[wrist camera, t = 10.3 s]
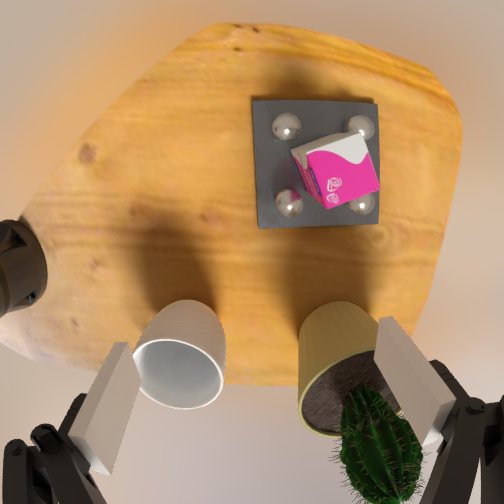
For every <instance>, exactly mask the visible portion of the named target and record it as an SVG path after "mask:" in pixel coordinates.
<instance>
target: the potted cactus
mask: <svg viewBox="0 0 504 504" xmlns="http://www.w3.org/2000/svg"><path fill="white" fill-rule="evenodd" d="M378 327H379V324H378V323H377V322H376V321H375V320H374V319H373V318H372V317H371V316H370V315H369V314H367V313H366V312H365V311H364V310H363V309H362V308H361V307H359V306H357V305H356V304H354V303H351V302H347V301H334V302H330V303H326V304H324V305H322V306H320V307H318V308H316V309H315V310H314V311H312V312H311V313H310V314H309V315H308V316H307V317H306V319H305V320H304V322H303V324H302V326H301V328H300V332H299V375H298V412H299V416H300V419H301V421H302V423H303V424H304V426H305V427H307V428H308V429H309V430H310V431H312V432H314V433H315V434H318V435H321V436H324V437H330V438H340V439H341V438H342V439H343V441H342V444H341V445H342V450H341V451H340V454H339V455H340V456H339V457H340V459H341V461H342V463H343V464H345V465H346V473H347V474H348V476H349V479H350V481H351V485H352V486H353V487H354V488H355V490H357V491H359V493H360V494H361V495H362V496H363V498H365V499H366V500H367V502H369V503H372V504H400V501H402V502H403V500H404V501H407V500H409V499H410V497H411V496H412V495H413V493H414V490H416V489H415V488H418V487H422V486H420V485H419V486H416V485H418V484H416V483H417V482H416V481H417V480H418V479H419V475H420V470H421V462H422V459H423V454H422V453H421V451H422V446H421V444H420V442H419V440H418V439H417V437H416V435H415V433H414V431H413V429H412V427H411V425H410V423H409V422H408V421H407V420H405V419H406V418H405V419H403V418H404V417H403V418H400V417H402V416H400V415H401V414H402V413H401V412H402V409H401V407H400V405H399V403H398V401H397V400H396V398H395V396H394V394H393V392H392V391H391V389H390V387H389V385H388V384H387V382H386V380H385V378H384V376H383V375H382V373H381V371H380V369H379V368H378V366H377V364H376V363H375V361H374V354H375V348H376V341H377V334H378ZM400 413H401V414H400ZM398 415H399V416H400V417H399V416H398ZM405 417H406V416H405ZM342 439H341V440H342ZM340 447H341V446H340ZM337 448H338V447H337ZM335 452H337V451H335ZM338 452H339V451H338ZM427 455H428V454H427ZM337 456H338V455H337ZM339 457H338V458H339ZM336 459H337V458H336ZM343 468H345V467H343ZM347 480H348V479H347ZM345 481H346V480H345ZM422 481H423V480H422ZM415 482H416V483H415ZM352 490H353V489H352ZM353 492H354V491H353ZM417 493H419V492H417ZM361 495H360V496H361ZM365 499H362V500H365ZM359 501H360V500H359ZM359 501H358V502H359ZM365 504H366V501H365ZM367 504H368V503H367Z"/></svg>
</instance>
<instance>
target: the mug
mask: <svg viewBox="0 0 504 504" xmlns="http://www.w3.org/2000/svg"><path fill="white" fill-rule="evenodd" d="M226 348H227V347H226V339H225V333H224V329H223V327H222V324H221V322H220V320H219V318H218V316H217V315H216V314H215V313H214V311H213V310H212V309H210V308H209V307H208V306H207V305H205V304H203V303H201V302H198V301H195V300H187V299H186V300H179V301H175V302H173V303H170V304H169V305H167V306H166V307H165V308H163V309H162V310H161V311H160V312H158V313H157V315H155V316H154V318H153V319H152V320H151V321H150V323H149V324H148V325H147V327H146V329H145V330H144V331H143V334H142V335H141V337H140V340H139V341H138V343H137V345H136V347H135V349H134V351H133V353H132V355H133V358H134V361H135V364H136V367H137V369H138V372H139V375H140V377H141V380H142V382H141V385H140V388H139V389H140V390H141V391H142V392H143V393H144V394H145V395H146V396H147V397H149V398H150V399H152V400H153V401H155V402H157V403H159V404H162V405H164V406H167V407H171V408H176V409H194V408H199V407H202V406H205V405H207V404H209V403H210V402H212V401H213V400H214V399H215V398H216V397H217V396H218V395H219V393H220V392H221V390H222V387H223V383H224V375H225V368H226Z"/></svg>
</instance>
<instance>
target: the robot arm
mask: <svg viewBox="0 0 504 504" xmlns="http://www.w3.org/2000/svg"><path fill="white" fill-rule="evenodd" d="M46 285H47V266H46V261H45V257H44V254H43V252H42V249H41V247H40V245H39V243H38V241H37V240H36V238H35V237H34V235H33V234H32V233H31V231H30V230H29V229H28V228H27V227H25V226H24V225H23V224H21V223H20V222H18V221H15V220H4V221H1V222H0V318H1V317H2V316H3V315H5V314H6V313H9V312H13V311H17V310H20V309H24V308H28V307H30V306H31V305H33V304H34V303H35V302H36V301H38V300H39V299H40V298H41V297H42V295H43V294H44V291H45V289H46ZM374 361H375V363H376V364H377V366H378V368H379V369H380V371H381V373H382V375H383V376H384V378H385V380H386V382H387V384H388V385H389V387H390V389H391V391H392V392H393V394H394V396H395V398H396V400H397V401H398V403H399V405H400V407H401V409H402V411H403V412H404V414H405V416H406V418H407V420H408V422H409V423H410V425H411V427H412V429H413V431H414V433H415V435H416V437H417V439H418V440H419V442H420V444H421V446H424V445H427V444H429V443H432V442H434V441H436V440H437V438H438V436H439V434H440V433H441V434H442V436H443V438H444V439H443V441H442V443H441V445H440V447H439V448H438V450H437V452H439V453H438V456H437V459H436V462H435V465H434V467H433V470H432V473H431V476H430V479H429V481H428V484H427V486H426V489H425V491H424V494H423V496H422V499H421V501H420V503H419V504H468V502H469V499H470V496H471V492H472V488H473V485H474V481H475V477H476V473H477V468H478V463H479V459H480V464H481V504H504V395H503V396H502V398H501V400H500V402H495V403H487V404H485V403H484V402H483V401H482V400H481V399H478V398H475V397H469V395H468V394H467V393H466V392H465V390H464V389H463V388H462V386H461V385H460V384H459V382H458V381H457V380H456V379H455V378H454V376H453V375H452V374H451V373H450V371H449V370H448V369H447V367H446V366H445V365H444V364H443V363H441V362H439V361H438V360H432V361H428V360H427V359H426V358H425V356H424V355H423V354H422V353H421V351H420V350H419V349H418V347H417V346H416V345H415V344H414V342H413V341H412V340H411V339H410V337H409V336H408V335H407V334H406V332H405V331H404V330H403V329H402V327H401V326H400V325H399V324H398V323H397V321H396V320H395V319H394V318H393V316H390V317H385V318H380V319H379V327H378V334H377V341H376V348H375V354H374ZM141 382H142V380H141V377H140V375H139V372H138V369H137V367H136V364H135V361H134V358H133V355H132V352H131V349H130V347H129V344H128V342H115V343H114V345H113V347H112V349H111V351H110V353H109V354H108V356H107V358H106V360H105V362H104V364H103V365H102V367H101V369H100V371H99V373H98V375H97V377H96V379H95V381H94V383H93V384H92V386H91V388H90V390H89V392H88V394H84V393H81V394H80V395H79V396H77V397H76V398H75V399H74V401H73V403H72V405H71V406H70V409H69V410H68V412H67V415H66V416H65V418H64V420H63V422H62V424H61V426H60V428H59V430H58V432H57V430H56V429H55V427H54V426H53V425H51V424H41V425H39V426H37V427H35V429H34V430H33V431H32V433H31V435H30V438H31V441H32V442H33V443H34V445H35V446H27V445H26V444H25V442H24V441H23V440H21V439H14V440H11V441H10V442H9V443H7V445H6V446H5V449H4V459H3V484H2V485H3V486H2V488H3V490H2V496H3V497H2V499H3V504H58V502H59V504H107V503H106V501H105V499H104V498H103V496H102V494H101V492H100V491H99V489H98V487H97V485H96V484H95V482H94V480H93V478H92V476H91V474H90V473H89V469H90V466H91V467H92V468H93V469H94V470H95V471H96V472H97V473H102V474H108V475H111V474H112V471H113V467H114V464H115V461H116V457H117V454H118V451H119V448H120V445H121V441H122V438H123V435H124V432H125V429H126V426H127V422H128V420H129V417H130V414H131V411H132V408H133V405H134V402H135V399H136V396H137V393H138V391H139V388H140V385H141Z"/></svg>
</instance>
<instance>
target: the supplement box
mask: <svg viewBox="0 0 504 504" xmlns="http://www.w3.org/2000/svg"><path fill="white" fill-rule="evenodd" d="M290 151H291V154H292V156H293V158H294V160H295V162H296V165H297V167H298V170H299V172H300V175H301V177H302V180H303V182H304V186H305V188H306V191H307V192H308V193H309V194H310V195H311V196H313V197H314V198H315V199H316V200H317V201H318V202H319V203H321V204H322V205H323V206H324V207H325V208H326V209H330V208H333V207H335V206H338V205H340V204H343V203H345V202H348V201H351V200H353V199H356V198H359V197H361V196H364V195H367V194H369V193H372V192H375V191H377V190H380V185H379V182H378V178H377V175H376V172H375V169H374V166H373V162H372V160H371V157H370V154H369V151H368V148H367V145H366V143H365V140H364V137H363V135H362V132H349V133H340V134H332V135H328V136H325V137H322V138H319V139H317V140H314V141H311V142H308V143H306V144H303V145H300V146H297V147H295V148H292V149H291V150H290Z"/></svg>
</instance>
